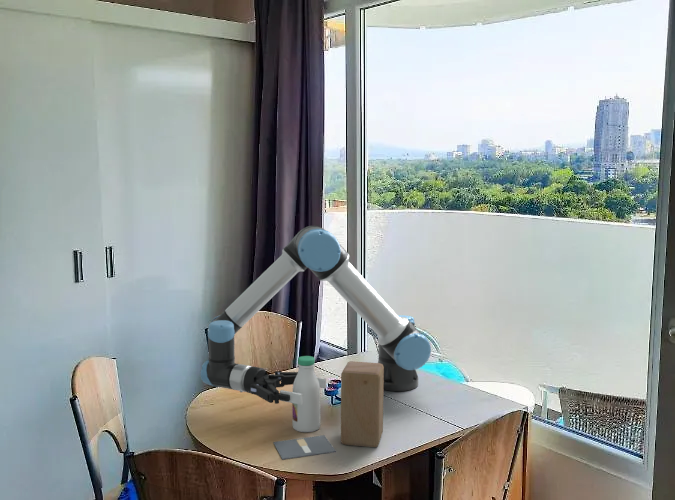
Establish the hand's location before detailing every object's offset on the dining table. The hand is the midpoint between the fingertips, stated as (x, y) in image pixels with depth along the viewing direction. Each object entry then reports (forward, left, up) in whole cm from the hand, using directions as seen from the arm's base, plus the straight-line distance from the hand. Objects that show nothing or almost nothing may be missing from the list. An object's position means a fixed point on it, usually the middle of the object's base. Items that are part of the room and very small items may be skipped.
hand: (314, 391), depth 174 cm
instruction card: (+6, +10, -11) cm, 16 cm away
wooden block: (-10, +10, -11) cm, 18 cm away
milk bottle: (+2, -2, -11) cm, 11 cm away
